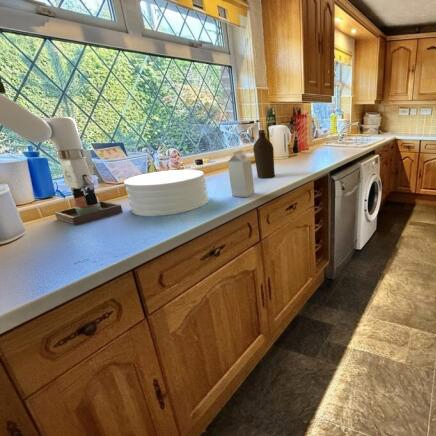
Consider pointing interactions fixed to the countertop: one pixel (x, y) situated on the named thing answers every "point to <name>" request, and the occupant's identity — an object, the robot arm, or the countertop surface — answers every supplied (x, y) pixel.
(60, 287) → the countertop surface
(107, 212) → the tray
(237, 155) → the milk carton
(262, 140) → the olive oil
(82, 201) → the terracotta round puck
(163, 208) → the plate stack
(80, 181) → the robot arm
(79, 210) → the green disc
